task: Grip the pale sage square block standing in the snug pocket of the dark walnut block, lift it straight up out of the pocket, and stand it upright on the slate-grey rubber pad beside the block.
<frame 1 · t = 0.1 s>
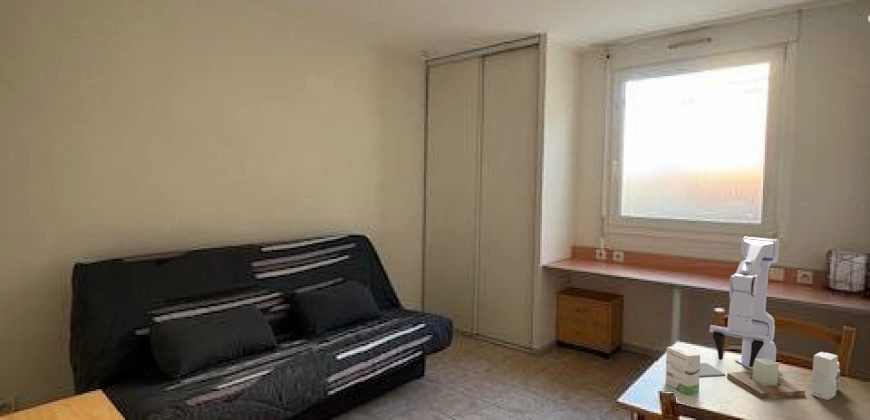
hand: (735, 362, 142), 10 cm above the table, tool pointing down, fingers open, 7 cm apart
sage block: (765, 373, 150), in the pocket block
skincare box: (822, 395, 145), on the table
ink box: (681, 388, 149), on the table
pocket block: (764, 386, 151), on the table
rubber pad: (702, 370, 162), on the table
pill bottle: (828, 388, 150), on the table
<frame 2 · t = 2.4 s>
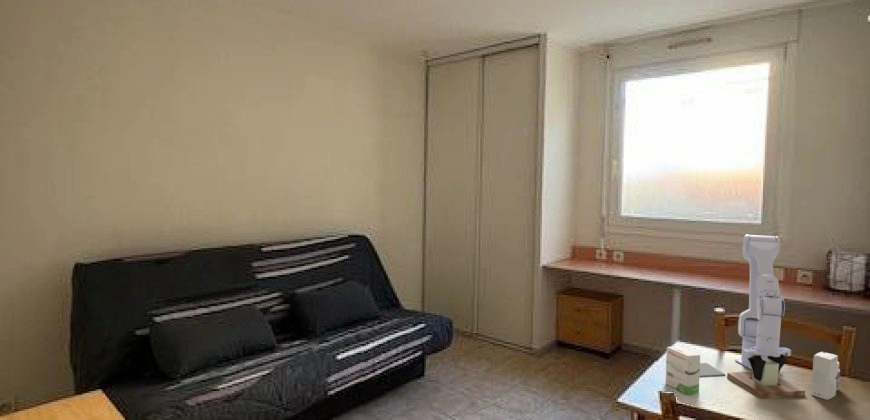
hand: (764, 378, 150), 2 cm above the table, tool pointing down, fingers closed on sage block, 4 cm apart
sage block: (765, 373, 150), in the pocket block, touching gripper
everything else where it was.
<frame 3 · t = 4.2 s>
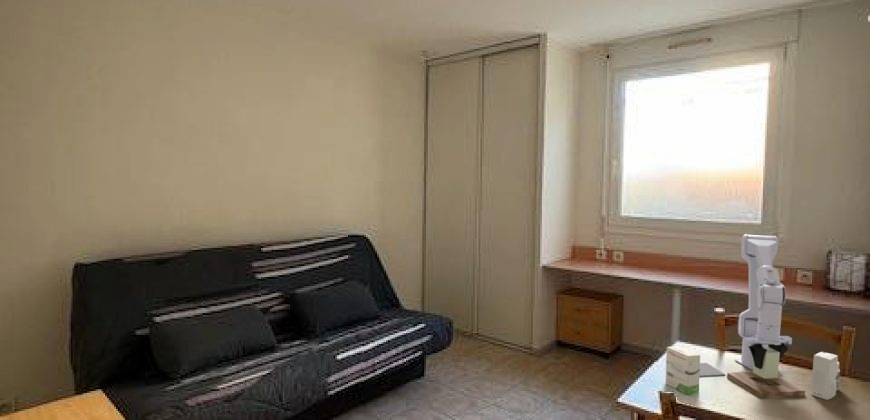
hand: (765, 367, 150), 6 cm above the table, tool pointing down, fingers closed on sage block, 4 cm apart
sage block: (766, 362, 150), point 8 cm above the table, touching gripper
everything else where it was.
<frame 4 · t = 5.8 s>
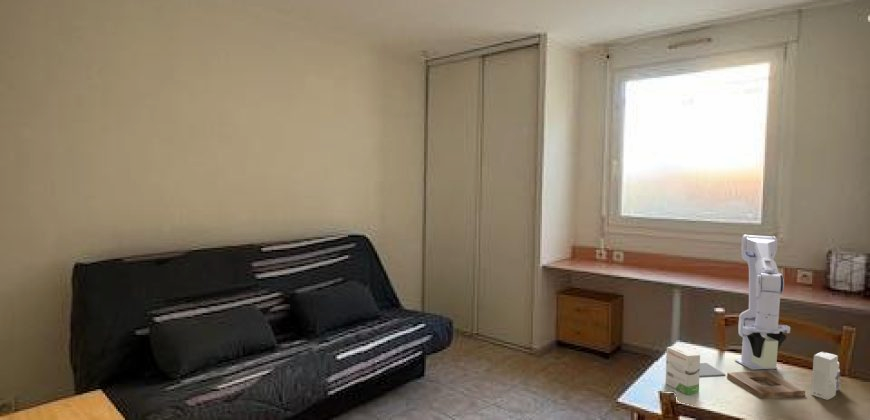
hand: (764, 356, 150), 9 cm above the table, tool pointing down, fingers closed on sage block, 4 cm apart
sage block: (764, 351, 150), point 11 cm above the table, touching gripper
everything else where it was.
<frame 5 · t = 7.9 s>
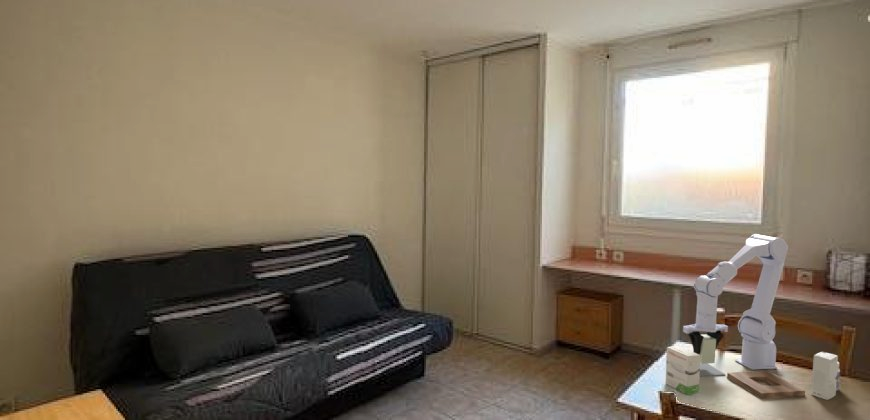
hand: (703, 353, 161), 6 cm above the table, tool pointing down, fingers closed on sage block, 4 cm apart
sage block: (704, 348, 161), point 7 cm above the table, touching gripper
everything else where it was.
when the fingers open (4 cm above the table, at t = 9.5 s): sage block drops 1 cm, resting on rubber pad.
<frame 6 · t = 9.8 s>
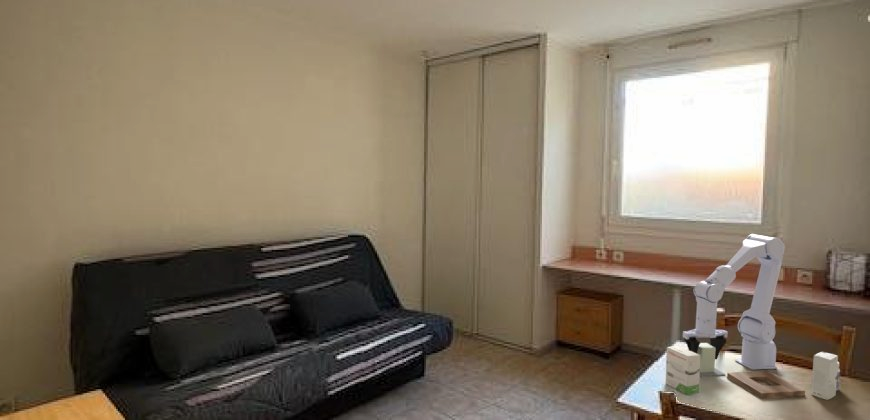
hand: (703, 358, 162), 4 cm above the table, tool pointing down, fingers open, 7 cm apart
sage block: (703, 357, 162), on the rubber pad
everything else where it was.
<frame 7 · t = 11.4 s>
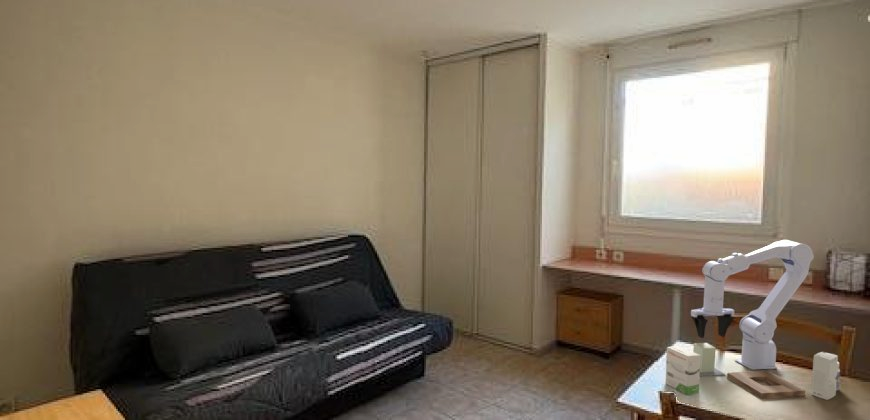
hand: (711, 336, 167), 9 cm above the table, tool pointing down, fingers open, 7 cm apart
nothing on the table moved.
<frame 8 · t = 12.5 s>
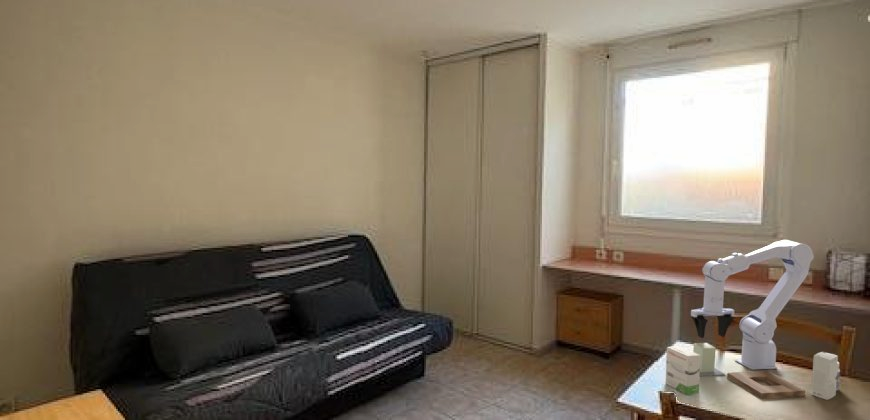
hand: (711, 336, 167), 9 cm above the table, tool pointing down, fingers open, 7 cm apart
nothing on the table moved.
at the end: sage block inside the target area on the rubber pad (0.1 cm from its centre), point 4.4 cm above the rubber pad's base; sage block tilted 0°; the gripper is holding nothing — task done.
